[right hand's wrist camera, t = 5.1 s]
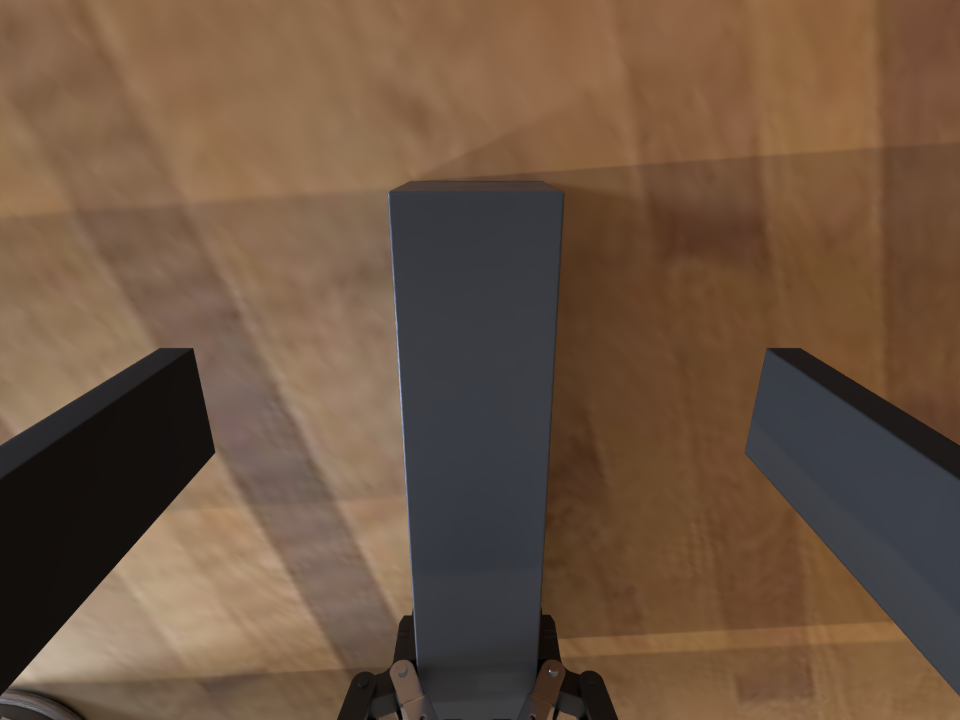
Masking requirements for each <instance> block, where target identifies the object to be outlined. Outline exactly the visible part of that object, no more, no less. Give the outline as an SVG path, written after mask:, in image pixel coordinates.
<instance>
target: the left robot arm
mask: <svg viewBox="0 0 960 720" xmlns="http://www.w3.org/2000/svg"><path fill="white" fill-rule="evenodd" d="M393 712H395V715H396V718H397V720H438V718H437V715H436V713H435V710H434V708H433V706H432V703H431V701H430V698H429V696H428V694H427V693H424V690H423V688H422V685H421V683H420V681H419V678H418V674H417V658H416V642H415V626H414V610H413V612H412V615H404V617H403V618H402V620H401V621H400V623H399V629H398V636H397V642H396V648H395V654H394V660H393V663H392V665H391V667H390V668H389V669H388V670H387V671H385V672H383V673H381V674H378V675H375V676H374V675H373V674H372V673H370V672H361V673H359V674H357V675H356V676H355V677H354V678H353V680H352V682H351V685H350V687H349V690H348V692H347V695H346V698H345V700H344V703H343V705H342V708H341V711H340V713H339V716H338V718H337V720H378V719H379V717H381V716H384V715H387V714H390V713H393ZM561 712H564V713H567V714H570V715H573V716H576V718H577V720H618V718H617V715H616V712H615V710H614V707H613V705H612V702H611V699H610V697H609V694H608V692H607V689H606V686H605V684H604V681H603V679H602V677H601V676H600V675H599V674H598V673H596V672H594V671H584V672H583V673H582V674H581V675H579V674H576V673H573V672H570V671H569V670H567V669H566V668H565V667H564V666H563V664H562V662H561V658H560V652H559V646H558V640H557V633H556V627H555V622H554V620H553V619H552V617H551V616H550V615H542V609H541V611H540V629H539V646H538V663H537V679H536V681H535V684H534V686H533V688H532V691H531V693H528V695H527V697H526V699H525V701H524V704H523V706H522V709H521V711H520V713H519V716H518V718H517V720H558V718H559V715H560V713H561ZM0 720H82V719H80V718H79V717H78V716H77V715H76V714H75V713H73V712H72V711H70V710H69V709H67V708H66V707H64V706H63V705H61V704H59V703H57V702H55V701H52V700H50V699H48V698H45V697H42V696H39V695H36V694H32V693H27V692H22V691H14V690H6V691H5V692H4V693H3V694H2V695H1V696H0ZM444 720H462V719H444ZM493 720H511V719H493Z"/></svg>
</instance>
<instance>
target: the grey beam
mask: <svg viewBox="0 0 960 720" xmlns="http://www.w3.org/2000/svg"><path fill="white" fill-rule="evenodd" d="M388 209H389V225H390V241H391V257H392V273H393V289H394V305H395V321H396V337H397V353H398V369H399V385H400V401H401V417H402V433H403V450H404V466H405V482H406V498H407V514H408V530H409V546H410V562H411V578H412V594H413V610H414V626H415V642H416V658H417V674H418V678H419V681H420V683H421V685H422V688H423V690H424V693H427V694H428V696H429V698H430V701H431V703H432V706H433V708H434V710H435V713H436V715H437V718H438V720H444V719H462V720H493V719H511V720H517V718H518V716H519V713H520V711H521V709H522V706H523V704H524V701H525V699H526V697H527V695H528V693H531V691H532V688H533V686H534V684H535V681H536V679H537V663H538V646H539V629H540V611H541V594H542V576H543V559H544V542H545V524H546V507H547V489H548V472H549V454H550V437H551V420H552V402H553V385H554V367H555V350H556V333H557V315H558V298H559V280H560V263H561V245H562V228H563V211H564V192H562V191H561V190H559V189H557V188H555V187H553V186H551V185H549V184H547V183H545V182H543V181H410V182H408V183H406V184H404V185H402V186H400V187H398V188H396V189H394V190H392V191H390V192H388Z"/></svg>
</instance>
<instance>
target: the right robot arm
mask: <svg viewBox="0 0 960 720" xmlns="http://www.w3.org/2000/svg"><path fill="white" fill-rule="evenodd" d="M214 454H215V448H214V444H213V439H212V434H211V429H210V425H209V420H208V415H207V411H206V406H205V401H204V397H203V392H202V387H201V382H200V378H199V373H198V368H197V364H196V359H195V354H194V350H193V348H159V349H158V350H156V351H154V352H153V353H151V354H149V355H148V356H146V357H145V358H143V359H141V360H140V361H138V362H136V363H135V364H133V365H131V366H130V367H128V368H127V369H125V370H123V371H122V372H120V373H118V374H117V375H115V376H113V377H112V378H110V379H109V380H107V381H105V382H104V383H102V384H100V385H99V386H97V387H95V388H94V389H92V390H90V391H89V392H87V393H86V394H84V395H82V396H81V397H79V398H77V399H76V400H74V401H72V402H71V403H69V404H68V405H66V406H64V407H63V408H61V409H59V410H58V411H56V412H54V413H53V414H51V415H50V416H48V417H46V418H45V419H43V420H41V421H40V422H38V423H36V424H35V425H33V426H32V427H30V428H28V429H27V430H25V431H23V432H22V433H20V434H18V435H17V436H15V437H14V438H12V439H10V440H9V441H7V442H5V443H4V444H2V445H0V696H1V695H2V694H3V693H4V692H5V691H6V689H7V688H8V687H9V686H10V685H11V684H12V683H13V681H14V680H15V679H16V678H17V677H18V676H19V675H20V674H21V672H22V671H23V670H24V669H25V668H26V667H27V666H28V664H29V663H30V662H31V661H32V660H33V659H34V658H35V657H36V655H37V654H38V653H39V652H40V651H41V650H42V649H43V647H44V646H45V645H46V644H47V643H48V642H49V641H50V640H51V638H52V637H53V636H54V635H55V634H56V633H57V632H58V630H59V629H60V628H61V627H62V626H63V625H64V624H65V623H66V621H67V620H68V619H69V618H70V617H71V616H72V615H73V613H74V612H75V611H76V610H77V609H78V608H79V607H80V605H81V604H82V603H83V602H84V601H85V600H86V599H87V598H88V596H89V595H90V594H91V593H92V592H93V591H94V590H95V588H96V587H97V586H98V585H99V584H100V583H101V582H102V581H103V579H104V578H105V577H106V576H107V575H108V574H109V573H110V571H111V570H112V569H113V568H114V567H115V566H116V565H117V564H118V562H119V561H120V560H121V559H122V558H123V557H124V556H125V554H126V553H127V552H128V551H129V550H130V549H131V548H132V547H133V545H134V544H135V543H136V542H137V541H138V540H139V539H140V537H141V536H142V535H143V534H144V533H145V532H146V531H147V530H148V528H149V527H150V526H151V525H152V524H153V523H154V522H155V520H156V519H157V518H158V517H159V516H160V515H161V514H162V513H163V511H164V510H165V509H166V508H167V507H168V506H169V505H170V503H171V502H172V501H173V500H174V499H175V498H176V497H177V496H178V494H179V493H180V492H181V491H182V490H183V489H184V488H185V486H186V485H187V484H188V483H189V482H190V481H191V480H192V478H193V477H194V476H195V475H196V474H197V473H198V472H199V471H200V469H201V468H202V467H203V466H204V465H205V464H206V463H207V461H208V460H209V459H210V458H211V457H212V456H213V455H214ZM745 454H746V455H747V456H748V457H749V458H750V459H751V460H752V461H753V463H754V464H755V465H756V466H757V467H758V468H759V469H760V471H761V472H762V473H763V474H764V475H765V476H766V477H767V478H768V480H769V481H770V482H771V483H772V484H773V485H774V486H775V488H776V489H777V490H778V491H779V492H780V493H781V494H782V496H783V497H784V498H785V499H786V500H787V501H788V502H789V503H790V505H791V506H792V507H793V508H794V509H795V510H796V511H797V513H798V514H799V515H800V516H801V517H802V518H803V519H804V520H805V522H806V523H807V524H808V525H809V526H810V527H811V528H812V530H813V531H814V532H815V533H816V534H817V535H818V536H819V537H820V539H821V540H822V541H823V542H824V543H825V544H826V545H827V547H828V548H829V549H830V550H831V551H832V552H833V553H834V554H835V556H836V557H837V558H838V559H839V560H840V561H841V562H842V564H843V565H844V566H845V567H846V568H847V569H848V570H849V571H850V573H851V574H852V575H853V576H854V577H855V578H856V579H857V581H858V582H859V583H860V584H861V585H862V586H863V587H864V588H865V590H866V591H867V592H868V593H869V594H870V595H871V596H872V598H873V599H874V600H875V601H876V602H877V603H878V604H879V605H880V607H881V608H882V609H883V610H884V611H885V612H886V613H887V615H888V616H889V617H890V618H891V619H892V620H893V621H894V623H895V624H896V625H897V626H898V627H899V628H900V629H901V630H902V632H903V633H904V634H905V635H906V636H907V637H908V638H909V640H910V641H911V642H912V643H913V644H914V645H915V646H916V647H917V649H918V650H919V651H920V652H921V653H922V654H923V655H924V657H925V658H926V659H927V660H928V661H929V662H930V663H931V664H932V666H933V667H934V668H935V669H936V670H937V671H938V672H939V674H940V675H941V676H942V677H943V678H944V679H945V680H946V681H947V683H948V684H949V685H950V686H951V687H952V688H953V689H954V691H955V692H956V693H957V694H958V695H959V696H960V445H958V444H956V443H955V442H953V441H951V440H950V439H948V438H946V437H945V436H943V435H942V434H940V433H938V432H937V431H935V430H933V429H932V428H930V427H928V426H927V425H925V424H924V423H922V422H920V421H919V420H917V419H915V418H914V417H912V416H910V415H909V414H907V413H906V412H904V411H902V410H901V409H899V408H897V407H896V406H894V405H892V404H891V403H889V402H888V401H886V400H884V399H883V398H881V397H879V396H878V395H876V394H874V393H873V392H871V391H870V390H868V389H866V388H865V387H863V386H861V385H860V384H858V383H856V382H855V381H853V380H851V379H850V378H848V377H847V376H845V375H843V374H842V373H840V372H838V371H837V370H835V369H833V368H832V367H830V366H829V365H827V364H825V363H824V362H822V361H820V360H819V359H817V358H815V357H814V356H812V355H811V354H809V353H807V352H806V351H804V350H802V349H801V348H767V350H766V354H765V359H764V364H763V368H762V373H761V378H760V382H759V387H758V392H757V397H756V401H755V406H754V411H753V415H752V420H751V425H750V429H749V434H748V439H747V444H746V448H745Z"/></svg>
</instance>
